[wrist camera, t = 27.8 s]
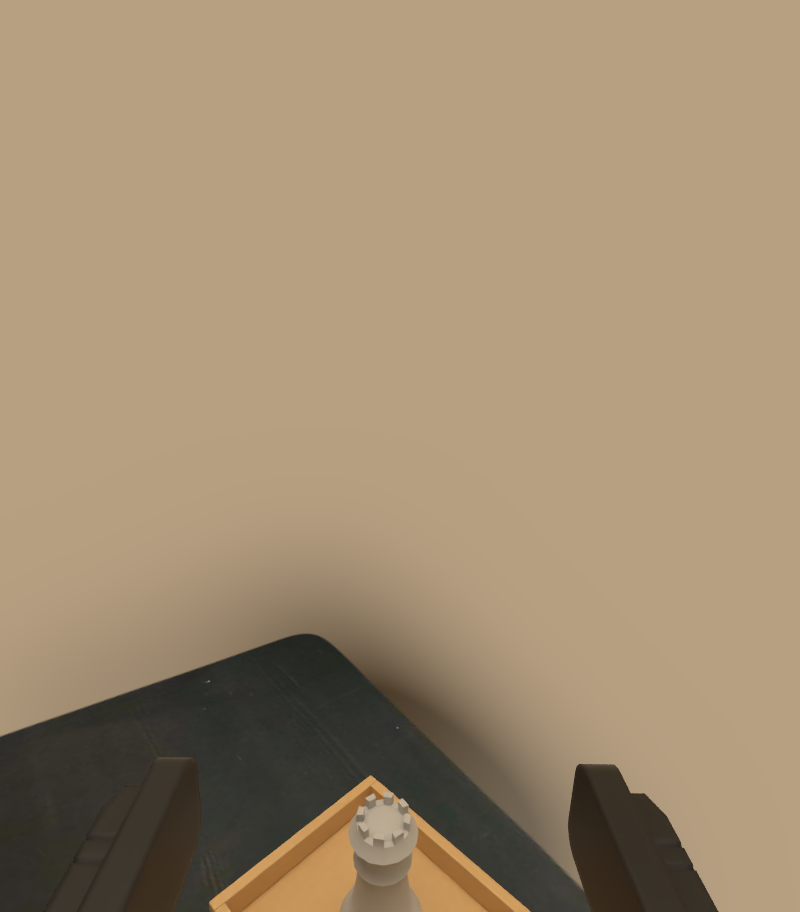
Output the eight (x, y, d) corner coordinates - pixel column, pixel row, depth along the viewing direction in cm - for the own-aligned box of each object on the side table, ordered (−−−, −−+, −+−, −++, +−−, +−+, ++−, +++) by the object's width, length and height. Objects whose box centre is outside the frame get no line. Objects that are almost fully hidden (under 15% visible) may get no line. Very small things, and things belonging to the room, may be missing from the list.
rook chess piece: (324, 917, 29) (323, 792, 26) (402, 883, 30) (407, 764, 28) (353, 1015, 25) (354, 878, 23) (440, 969, 26) (449, 838, 24)
